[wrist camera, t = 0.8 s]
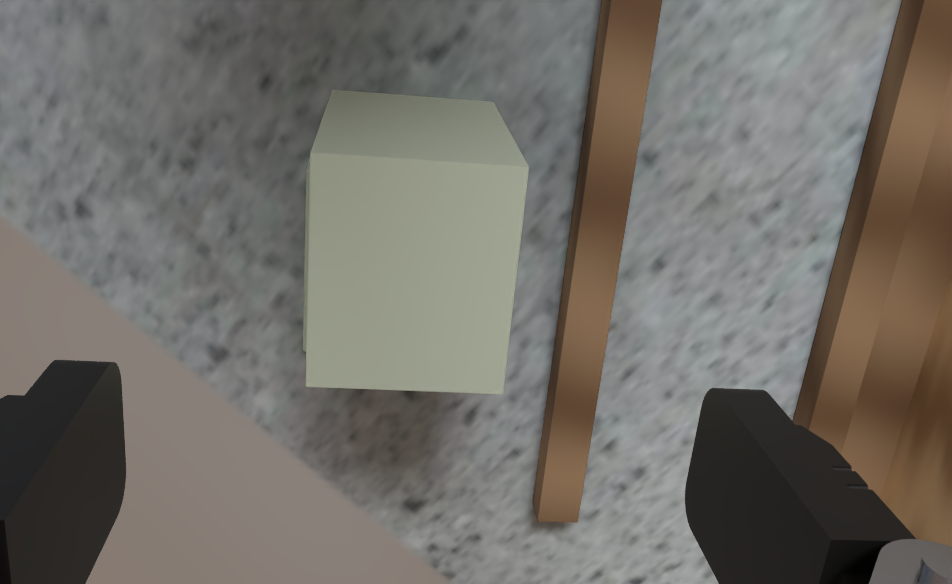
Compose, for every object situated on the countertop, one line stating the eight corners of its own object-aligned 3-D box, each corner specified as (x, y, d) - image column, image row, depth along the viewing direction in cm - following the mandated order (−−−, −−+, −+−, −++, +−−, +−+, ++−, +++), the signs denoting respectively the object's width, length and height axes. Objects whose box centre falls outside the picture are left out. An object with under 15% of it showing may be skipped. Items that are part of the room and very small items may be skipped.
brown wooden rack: (642, -298, 24) (1033, -626, 9) (1160, -230, 26) (2164, -419, 11) (532, 501, 34) (640, 946, 19) (913, 510, 36) (1276, 923, 21)
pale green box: (327, 89, 27) (303, 152, 20) (493, 101, 28) (529, 166, 21) (322, 270, 30) (299, 386, 22) (476, 278, 30) (502, 394, 23)
